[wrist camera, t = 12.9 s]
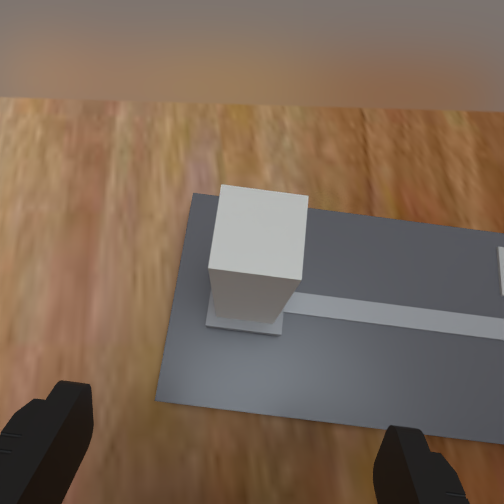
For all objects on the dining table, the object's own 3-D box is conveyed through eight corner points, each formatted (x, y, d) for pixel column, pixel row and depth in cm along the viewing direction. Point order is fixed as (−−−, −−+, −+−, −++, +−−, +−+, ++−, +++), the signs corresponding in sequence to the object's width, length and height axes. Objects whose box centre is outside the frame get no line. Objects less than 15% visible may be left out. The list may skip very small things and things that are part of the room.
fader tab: (286, 265, 23) (323, 184, 14) (280, 336, 22) (316, 297, 13) (216, 256, 23) (209, 169, 14) (206, 326, 22) (189, 281, 13)
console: (529, 256, 28) (566, 240, 25) (550, 447, 24) (596, 456, 21) (196, 213, 28) (192, 191, 25) (163, 399, 24) (154, 400, 21)
